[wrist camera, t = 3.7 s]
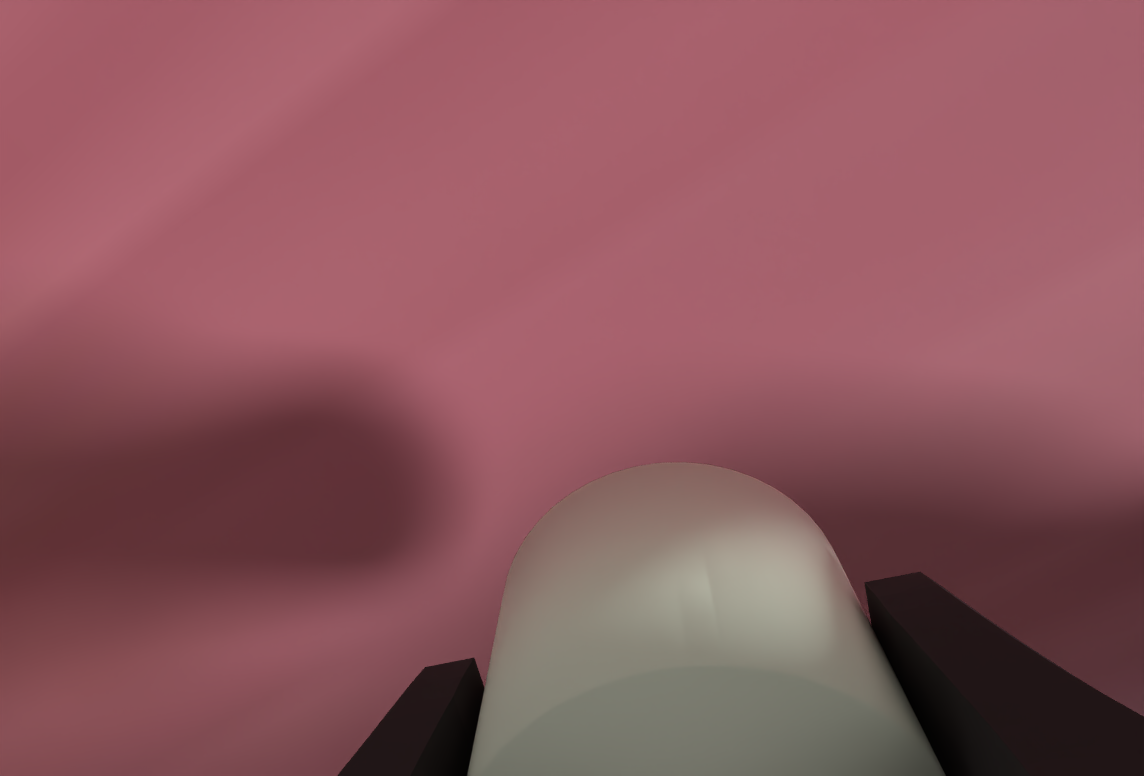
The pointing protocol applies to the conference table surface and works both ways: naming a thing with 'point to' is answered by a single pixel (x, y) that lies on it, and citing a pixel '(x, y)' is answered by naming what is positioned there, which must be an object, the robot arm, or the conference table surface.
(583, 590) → the sage capsule
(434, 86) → the conference table surface
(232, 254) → the conference table surface
